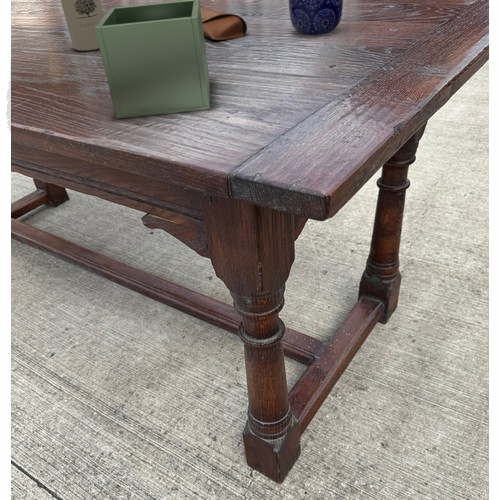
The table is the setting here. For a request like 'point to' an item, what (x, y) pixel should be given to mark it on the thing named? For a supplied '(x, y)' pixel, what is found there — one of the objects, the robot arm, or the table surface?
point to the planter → (315, 15)
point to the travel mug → (83, 22)
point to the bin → (155, 58)
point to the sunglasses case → (222, 25)
